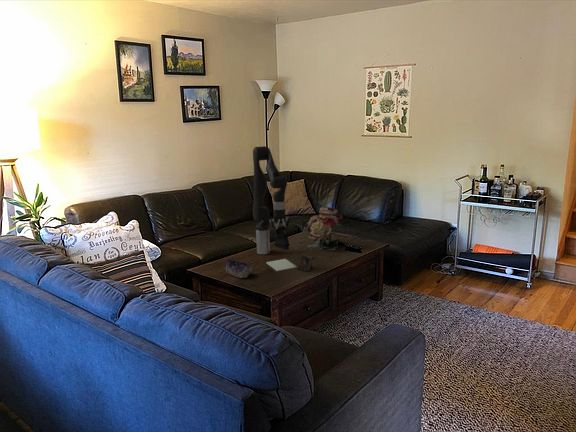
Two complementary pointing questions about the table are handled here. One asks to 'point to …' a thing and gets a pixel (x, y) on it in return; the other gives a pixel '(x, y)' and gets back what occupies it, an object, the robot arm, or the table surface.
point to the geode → (238, 268)
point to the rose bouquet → (324, 229)
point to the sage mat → (281, 265)
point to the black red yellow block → (281, 238)
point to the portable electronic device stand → (308, 262)
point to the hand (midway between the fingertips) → (280, 233)
